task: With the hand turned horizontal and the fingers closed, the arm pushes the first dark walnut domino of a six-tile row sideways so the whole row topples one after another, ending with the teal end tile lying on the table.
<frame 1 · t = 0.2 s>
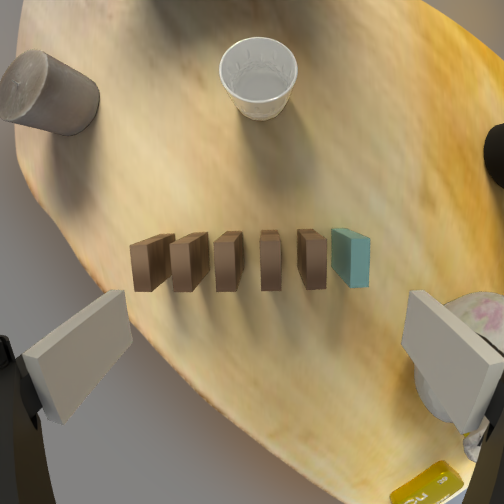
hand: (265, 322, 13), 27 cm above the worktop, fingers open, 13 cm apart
domino 5: (305, 248, 40), on the worktop
coffee jar: (502, 157, 36), on the worktop
domino 1: (168, 252, 41), on the worktop
domino 3: (235, 250, 41), on the worktop
element tile: (425, 484, 49), on the worktop
ceramic pitcher: (453, 330, 41), on the worktop
domino 6: (338, 247, 40), on the worktop
pillar candle: (75, 106, 38), on the worktop
white cup: (260, 97, 37), on the worktop
domino 2: (201, 251, 41), on the worktop
domino 4: (270, 249, 41), on the worktop
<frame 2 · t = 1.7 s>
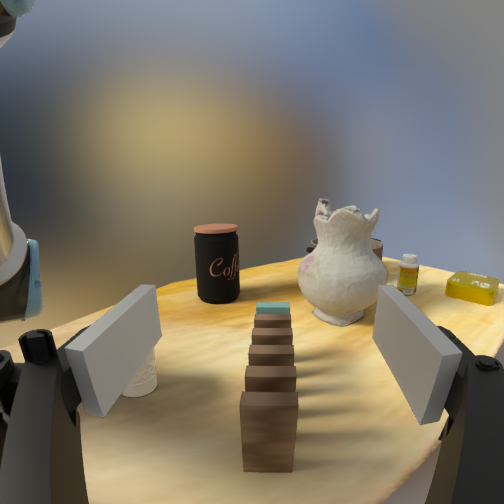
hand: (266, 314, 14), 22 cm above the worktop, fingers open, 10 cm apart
domino 5: (272, 375, 45), on the worktop
coffee jar: (218, 297, 79), on the worktop
domino 1: (268, 465, 27), on the worktop
domino 3: (270, 414, 36), on the worktop
element tile: (472, 295, 72), on the worktop
ceramic pitcher: (336, 312, 68), on the worktop
domino 6: (272, 360, 49), on the worktop
white cup: (136, 385, 42), on the worktop
domino 2: (269, 438, 32), on the worktop
cooking pot: (345, 276, 95), on the worktop
supplement bottle: (405, 293, 77), on the worktop
domino 4: (271, 393, 41), on the worktop
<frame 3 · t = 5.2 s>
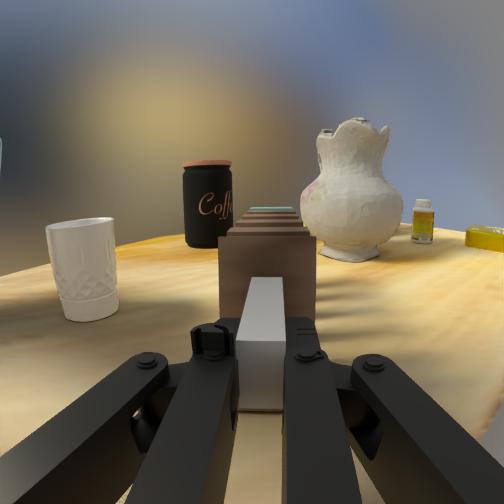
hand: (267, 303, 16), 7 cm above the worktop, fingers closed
coffee jar: (209, 245, 69), on the worktop
domino 1: (267, 402, 17), on the worktop, tilted 9°
domino 3: (270, 338, 26), on the worktop
element tile: (492, 247, 62), on the worktop
ceramic pitcher: (346, 253, 58), on the worktop
white cup: (91, 312, 32), on the worktop
domino 2: (268, 366, 22), on the worktop
supplement bottle: (421, 243, 68), on the worktop
domino 4: (271, 317, 31), on the worktop
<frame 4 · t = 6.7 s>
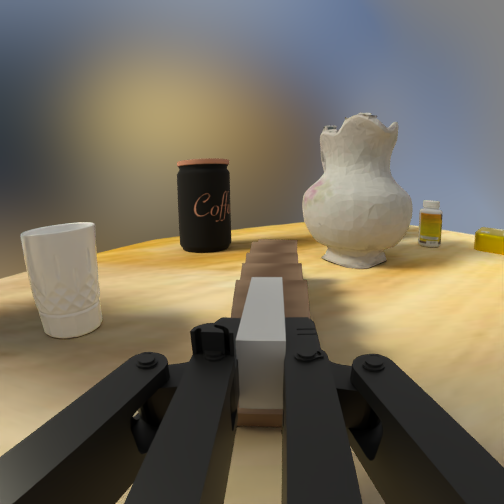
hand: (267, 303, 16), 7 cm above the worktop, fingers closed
coffee jar: (205, 248, 65), on the worktop
domino 1: (267, 420, 15), point 1 cm above the worktop, tilted 64°, touching domino 2
domino 3: (270, 342, 24), point 1 cm above the worktop, tilted 64°, touching domino 2, domino 4
element tile: (502, 251, 58), on the worktop
ceramic pitcher: (350, 258, 55), on the worktop
white cup: (73, 326, 28), on the worktop
domino 2: (268, 373, 19), point 1 cm above the worktop, tilted 64°, touching domino 1, domino 3
supplement bottle: (428, 246, 64), on the worktop
domino 4: (267, 314, 29), point 1 cm above the worktop, tilted 64°, touching domino 3, domino 5
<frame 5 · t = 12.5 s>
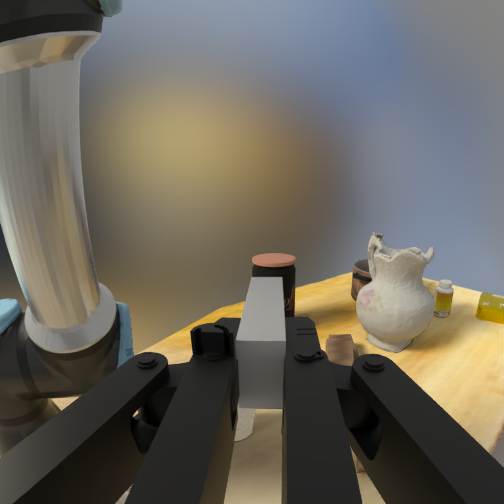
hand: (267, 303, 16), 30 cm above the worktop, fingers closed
domino 5: (346, 361, 57), point 2 cm above the worktop, tilted 90°, touching domino 6
coffee jar: (273, 325, 81), on the worktop
element tile: (497, 315, 73), on the worktop
ceramic pitcher: (386, 337, 70), on the worktop
white cup: (232, 428, 43), on the worktop
cooking pot: (383, 298, 97), on the worktop
supplement bottle: (440, 314, 79), on the worktop
domino 4: (341, 385, 52), point 1 cm above the worktop, tilted 61°, touching domino 3
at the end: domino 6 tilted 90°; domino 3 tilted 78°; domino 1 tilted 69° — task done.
